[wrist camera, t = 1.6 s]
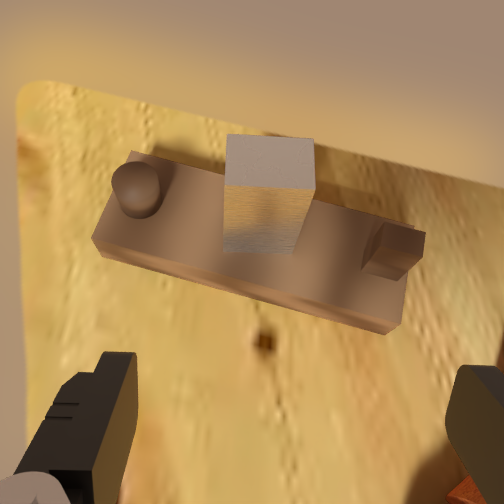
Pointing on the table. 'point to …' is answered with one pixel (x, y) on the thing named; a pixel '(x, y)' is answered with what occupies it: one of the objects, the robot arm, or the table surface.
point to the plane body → (258, 264)
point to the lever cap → (266, 192)
